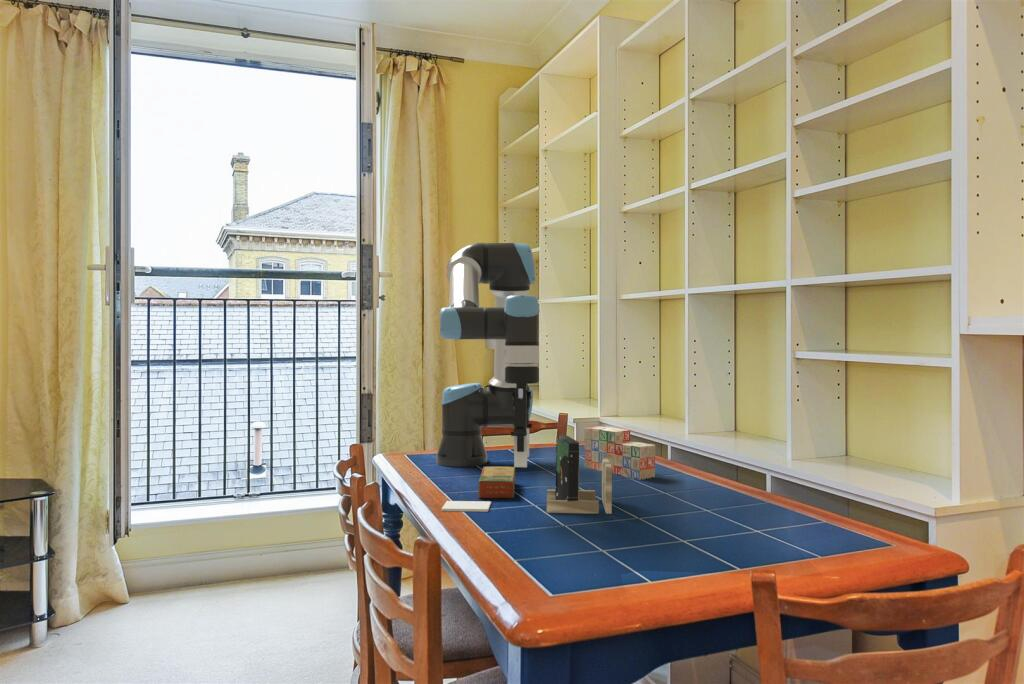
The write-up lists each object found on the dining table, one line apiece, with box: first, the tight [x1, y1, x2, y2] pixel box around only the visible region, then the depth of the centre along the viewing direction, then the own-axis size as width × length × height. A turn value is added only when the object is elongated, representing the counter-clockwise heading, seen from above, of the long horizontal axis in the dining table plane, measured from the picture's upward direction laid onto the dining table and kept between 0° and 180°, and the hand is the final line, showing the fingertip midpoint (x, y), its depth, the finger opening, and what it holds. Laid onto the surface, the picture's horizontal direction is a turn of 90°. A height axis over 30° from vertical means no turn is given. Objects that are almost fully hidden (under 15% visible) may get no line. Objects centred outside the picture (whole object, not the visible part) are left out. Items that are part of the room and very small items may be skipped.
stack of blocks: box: [583, 425, 656, 481], centre depth 186 cm, size 21×6×12 cm, turn 36°
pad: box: [441, 500, 492, 513], centre depth 149 cm, size 7×10×1 cm
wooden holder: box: [546, 457, 613, 515], centre depth 149 cm, size 11×14×10 cm
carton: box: [477, 466, 516, 499], centre depth 164 cm, size 8×16×4 cm, turn 179°
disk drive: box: [555, 434, 581, 501], centre depth 149 cm, size 10×3×15 cm, turn 12°
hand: (522, 461), depth 150 cm, fingers open, 13 cm apart
